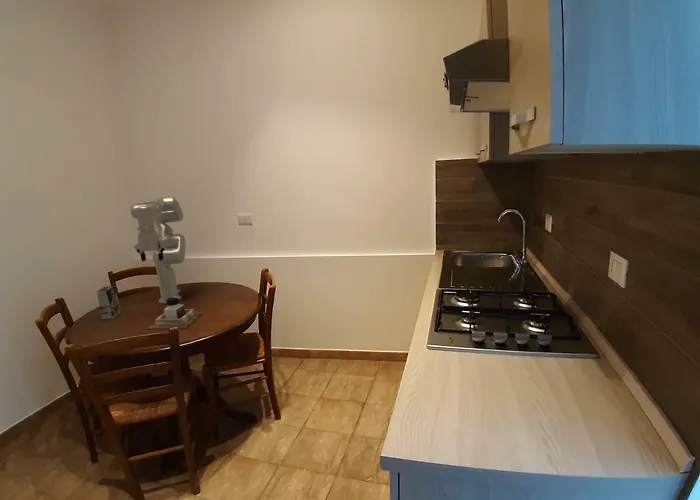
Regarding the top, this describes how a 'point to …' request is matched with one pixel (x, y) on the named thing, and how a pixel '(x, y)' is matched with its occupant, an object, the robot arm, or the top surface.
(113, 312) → the coffee box
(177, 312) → the medicine bottle
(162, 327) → the collar board
